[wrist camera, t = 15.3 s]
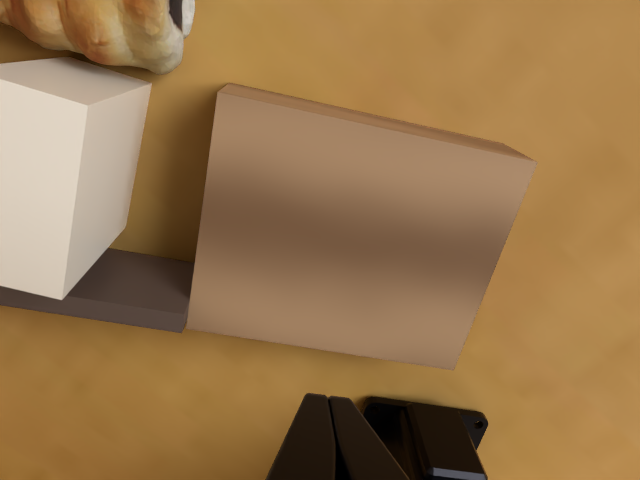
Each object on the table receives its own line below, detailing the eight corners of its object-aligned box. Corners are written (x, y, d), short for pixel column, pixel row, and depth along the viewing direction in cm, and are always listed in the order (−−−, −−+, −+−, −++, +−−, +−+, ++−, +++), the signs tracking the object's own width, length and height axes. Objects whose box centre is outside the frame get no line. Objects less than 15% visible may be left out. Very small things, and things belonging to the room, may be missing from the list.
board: (434, 329, 23) (453, 370, 20) (200, 290, 21) (186, 328, 19) (503, 143, 19) (537, 162, 17) (229, 82, 18) (217, 91, 15)
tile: (61, 300, 14) (-46, 275, 14) (126, 226, 20) (51, 206, 20) (87, 105, 12) (-38, 67, 12) (152, 83, 18) (68, 56, 17)
